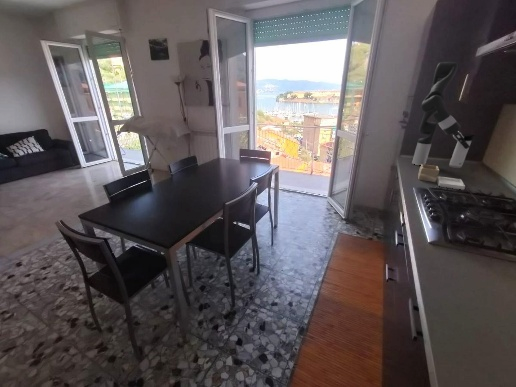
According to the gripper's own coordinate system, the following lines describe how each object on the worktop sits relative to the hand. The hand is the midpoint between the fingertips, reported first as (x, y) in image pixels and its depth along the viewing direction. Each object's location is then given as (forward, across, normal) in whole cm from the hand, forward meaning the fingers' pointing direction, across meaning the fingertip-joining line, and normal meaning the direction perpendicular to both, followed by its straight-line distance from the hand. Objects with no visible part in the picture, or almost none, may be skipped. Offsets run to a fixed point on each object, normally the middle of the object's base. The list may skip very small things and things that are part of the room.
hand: (466, 146), depth 139 cm
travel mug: (+8, 0, +10) cm, 13 cm away
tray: (+17, 0, +19) cm, 25 cm away
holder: (+8, +6, +27) cm, 29 cm away
